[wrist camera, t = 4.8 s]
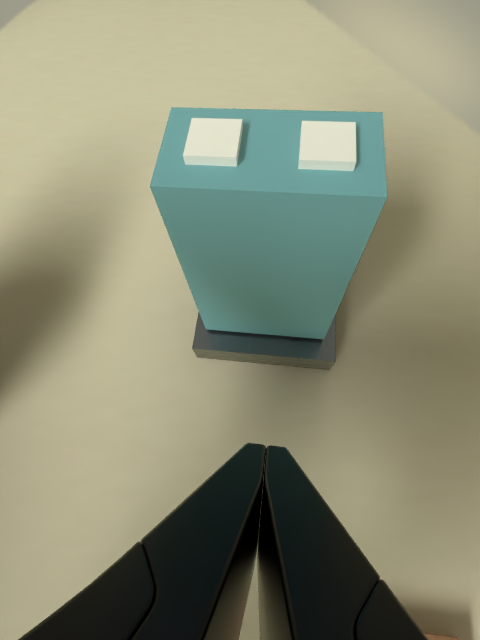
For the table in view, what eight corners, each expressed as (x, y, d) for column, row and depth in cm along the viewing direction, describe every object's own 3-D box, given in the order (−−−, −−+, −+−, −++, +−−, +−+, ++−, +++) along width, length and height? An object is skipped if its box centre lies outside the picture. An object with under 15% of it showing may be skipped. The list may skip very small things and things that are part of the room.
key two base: (329, 369, 19) (347, 340, 15) (197, 357, 20) (179, 326, 16) (331, 251, 22) (347, 199, 18) (216, 244, 23) (205, 192, 19)
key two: (330, 339, 18) (404, 189, 9) (206, 329, 19) (146, 177, 9) (331, 286, 19) (397, 102, 10) (214, 278, 20) (168, 97, 10)
